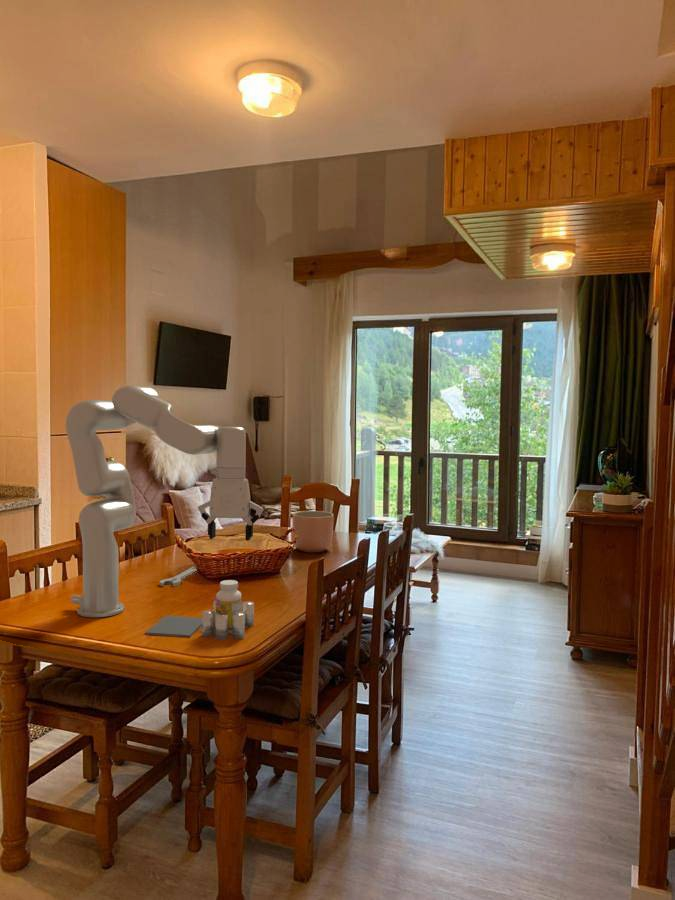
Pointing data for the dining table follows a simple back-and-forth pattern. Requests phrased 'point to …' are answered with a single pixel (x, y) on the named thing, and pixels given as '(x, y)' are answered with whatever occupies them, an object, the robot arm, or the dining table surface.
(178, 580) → the adjustable wrench
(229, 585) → the supplement bottle
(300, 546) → the planter
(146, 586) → the dining table surface
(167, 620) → the rubber mat
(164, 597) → the dining table surface
